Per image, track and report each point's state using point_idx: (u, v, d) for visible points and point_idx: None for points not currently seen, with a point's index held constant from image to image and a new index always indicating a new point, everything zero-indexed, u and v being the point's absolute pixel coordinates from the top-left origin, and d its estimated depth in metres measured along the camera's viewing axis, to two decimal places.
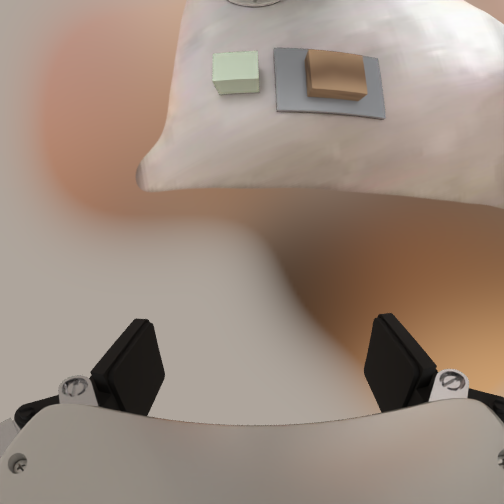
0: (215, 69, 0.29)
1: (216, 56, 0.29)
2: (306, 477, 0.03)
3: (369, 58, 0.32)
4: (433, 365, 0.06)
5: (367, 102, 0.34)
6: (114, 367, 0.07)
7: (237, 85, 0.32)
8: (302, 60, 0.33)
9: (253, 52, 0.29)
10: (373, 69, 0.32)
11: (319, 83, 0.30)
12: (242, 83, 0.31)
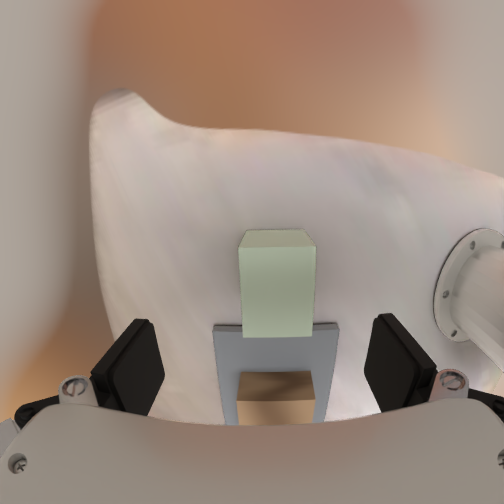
0: (269, 254, 0.16)
1: (306, 255, 0.16)
2: (306, 477, 0.03)
3: None
4: (433, 365, 0.06)
5: None
6: (114, 367, 0.07)
7: None
8: (309, 368, 0.23)
9: (308, 329, 0.17)
10: None
11: (246, 409, 0.20)
12: None
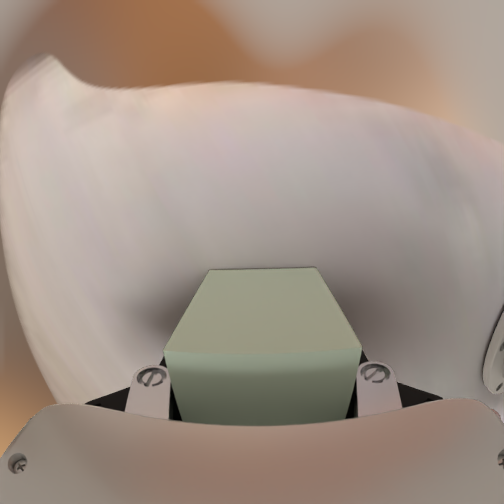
0: (241, 369, 0.06)
1: (337, 368, 0.06)
2: (306, 477, 0.03)
3: None
4: None
5: None
6: None
7: None
8: None
9: None
10: None
11: None
12: None
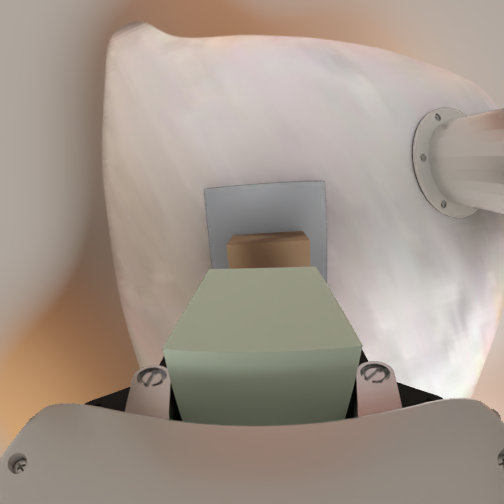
0: (240, 367, 0.06)
1: (337, 366, 0.06)
2: (306, 477, 0.03)
3: None
4: None
5: None
6: None
7: None
8: (301, 227, 0.25)
9: None
10: None
11: (237, 257, 0.22)
12: None
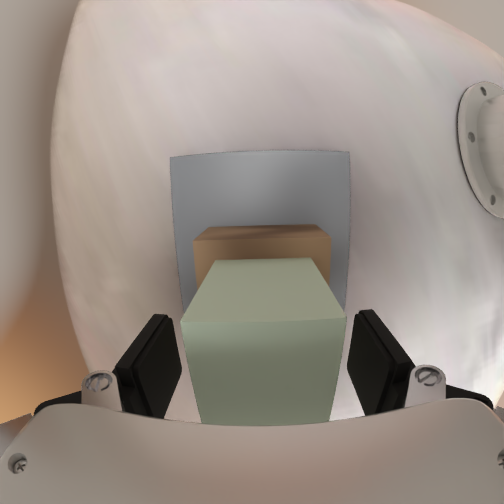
0: (245, 336, 0.07)
1: (326, 336, 0.07)
2: (306, 477, 0.03)
3: None
4: (408, 360, 0.07)
5: None
6: (138, 361, 0.07)
7: None
8: (314, 219, 0.16)
9: None
10: None
11: (211, 262, 0.13)
12: None
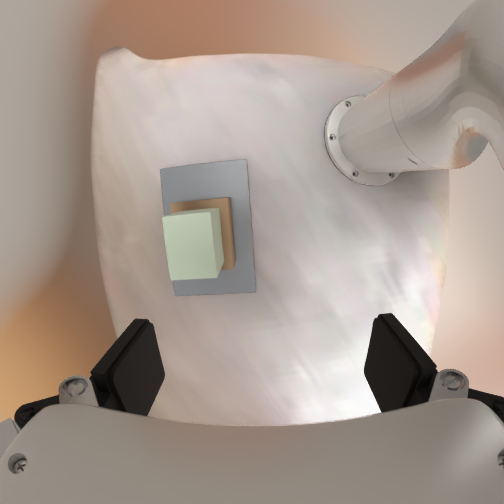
0: (180, 219, 0.24)
1: (204, 218, 0.23)
2: (306, 477, 0.03)
3: (252, 281, 0.35)
4: (433, 365, 0.06)
5: None
6: (114, 367, 0.07)
7: None
8: (229, 194, 0.33)
9: (213, 272, 0.25)
10: (237, 285, 0.35)
11: None
12: None
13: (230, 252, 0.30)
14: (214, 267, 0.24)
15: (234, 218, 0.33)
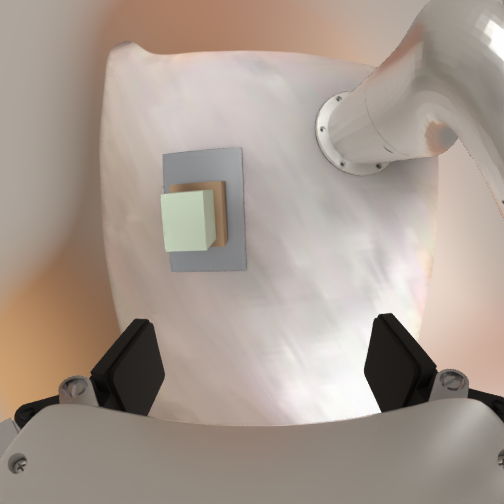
0: (176, 197, 0.26)
1: (197, 196, 0.26)
2: (306, 477, 0.03)
3: (243, 260, 0.38)
4: (433, 365, 0.06)
5: (183, 251, 0.38)
6: (114, 367, 0.07)
7: None
8: (224, 179, 0.35)
9: (203, 245, 0.27)
10: (228, 263, 0.38)
11: None
12: None
13: (222, 230, 0.33)
14: (204, 240, 0.27)
15: (228, 201, 0.36)
